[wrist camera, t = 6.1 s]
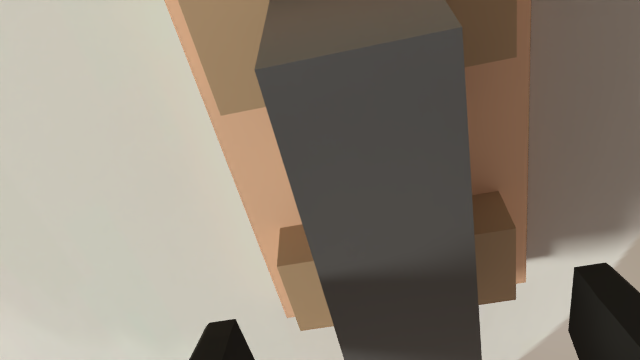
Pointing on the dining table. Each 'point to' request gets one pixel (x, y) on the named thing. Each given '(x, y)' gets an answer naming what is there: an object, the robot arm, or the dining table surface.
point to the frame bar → (379, 168)
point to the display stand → (269, 172)
